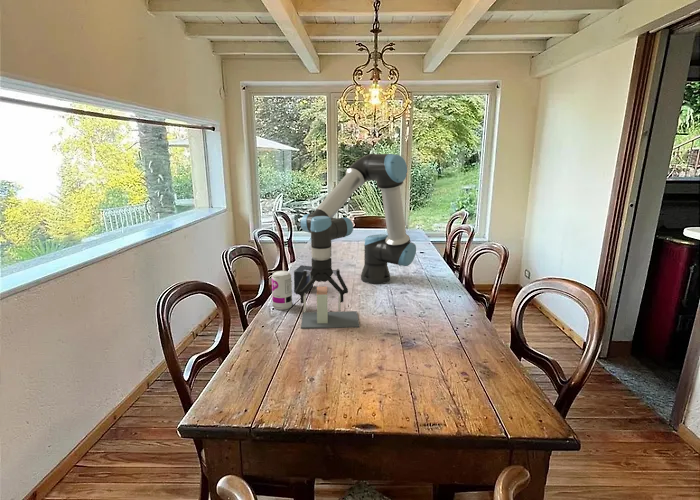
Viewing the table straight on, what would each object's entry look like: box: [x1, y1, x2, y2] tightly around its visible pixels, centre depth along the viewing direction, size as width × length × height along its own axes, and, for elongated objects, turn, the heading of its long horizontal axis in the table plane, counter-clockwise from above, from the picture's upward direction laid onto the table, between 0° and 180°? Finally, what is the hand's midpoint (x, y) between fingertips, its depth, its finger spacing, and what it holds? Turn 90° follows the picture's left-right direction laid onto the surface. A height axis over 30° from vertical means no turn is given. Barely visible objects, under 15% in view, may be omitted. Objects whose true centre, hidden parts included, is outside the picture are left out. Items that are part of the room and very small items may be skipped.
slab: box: [316, 286, 329, 323], centre depth 156 cm, size 4×8×12 cm, turn 4°
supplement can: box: [271, 270, 293, 311], centre depth 170 cm, size 8×8×15 cm
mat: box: [300, 310, 360, 330], centre depth 158 cm, size 22×14×1 cm, turn 94°
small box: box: [293, 264, 314, 294], centre depth 191 cm, size 11×6×10 cm, turn 168°
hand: (322, 310), depth 157 cm, fingers open, 13 cm apart
